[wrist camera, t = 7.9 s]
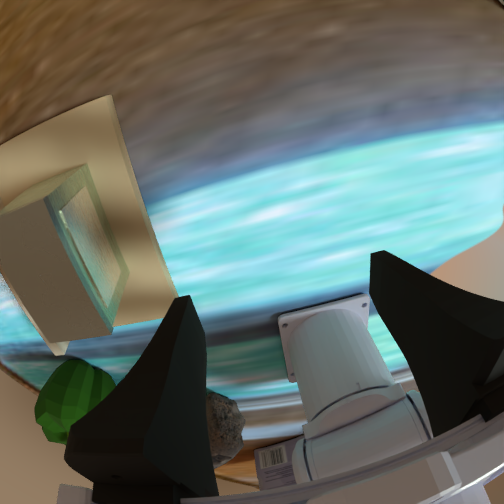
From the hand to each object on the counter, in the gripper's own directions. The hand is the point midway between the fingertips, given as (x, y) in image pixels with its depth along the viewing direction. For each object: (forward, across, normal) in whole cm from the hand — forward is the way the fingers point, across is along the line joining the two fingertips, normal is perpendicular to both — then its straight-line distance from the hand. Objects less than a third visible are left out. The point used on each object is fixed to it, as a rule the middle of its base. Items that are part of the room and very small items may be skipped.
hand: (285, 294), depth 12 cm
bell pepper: (+10, +20, +14) cm, 26 cm away
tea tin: (+9, +12, -2) cm, 15 cm away
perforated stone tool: (+10, +10, +24) cm, 28 cm away
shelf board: (+10, +12, -1) cm, 16 cm away
